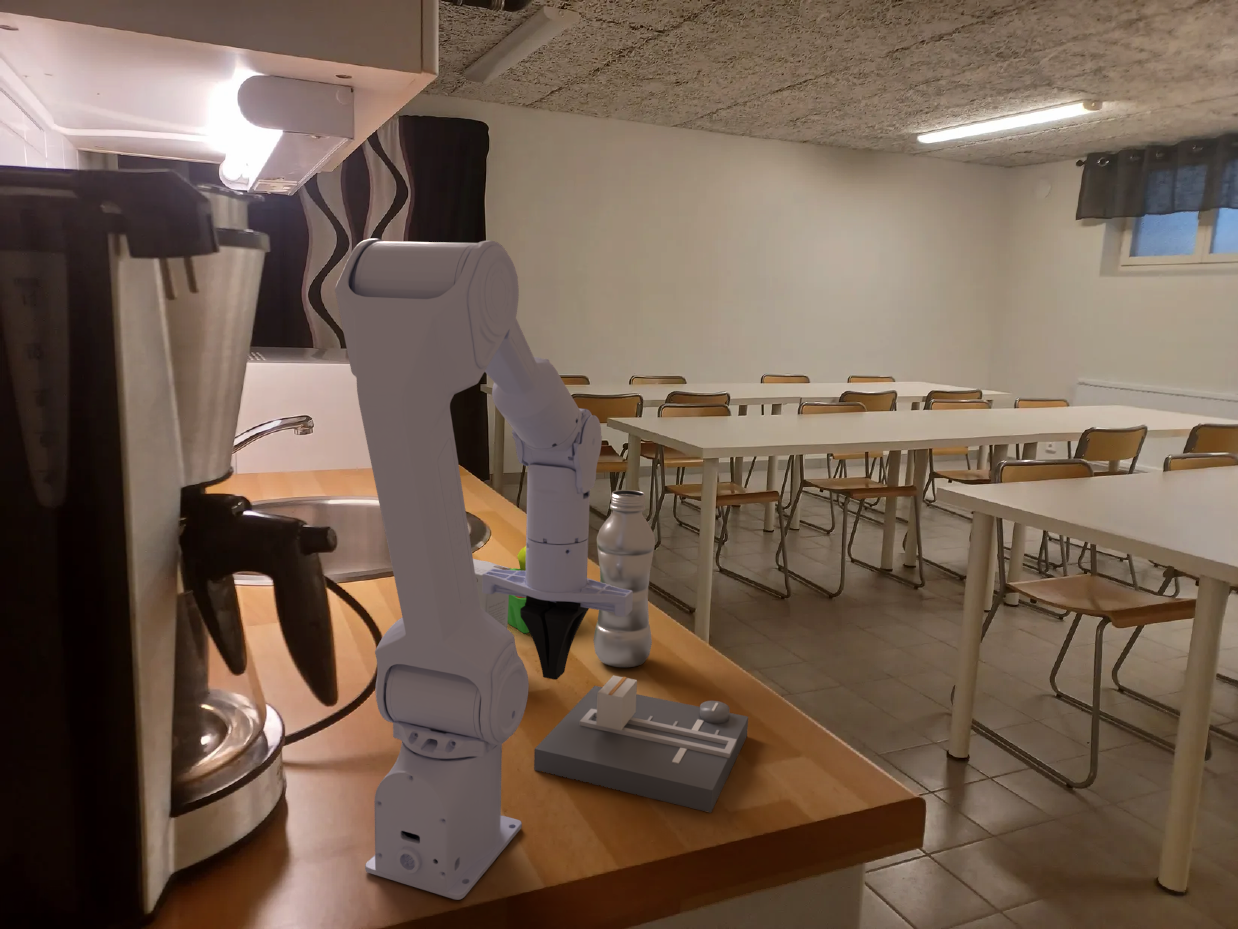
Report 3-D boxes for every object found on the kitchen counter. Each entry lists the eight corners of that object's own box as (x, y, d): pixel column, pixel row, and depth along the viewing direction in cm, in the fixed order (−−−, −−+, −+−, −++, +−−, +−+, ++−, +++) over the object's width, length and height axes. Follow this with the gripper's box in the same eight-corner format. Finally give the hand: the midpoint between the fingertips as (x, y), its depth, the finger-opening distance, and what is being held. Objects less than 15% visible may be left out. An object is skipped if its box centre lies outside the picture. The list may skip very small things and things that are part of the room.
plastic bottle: (645, 677, 95) (654, 502, 92) (586, 670, 96) (592, 496, 93) (654, 655, 101) (663, 490, 98) (599, 648, 103) (605, 485, 99)
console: (712, 813, 70) (714, 778, 69) (534, 769, 75) (534, 737, 75) (747, 736, 83) (750, 706, 82) (593, 703, 88) (594, 675, 88)
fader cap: (620, 734, 78) (622, 696, 77) (596, 729, 78) (597, 691, 78) (635, 715, 81) (637, 679, 81) (611, 710, 82) (613, 674, 81)
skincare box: (440, 671, 95) (440, 565, 93) (466, 657, 99) (467, 556, 96) (484, 684, 92) (485, 576, 90) (509, 670, 96) (511, 565, 94)
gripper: (645, 536, 80) (639, 672, 83) (507, 517, 85) (505, 646, 88) (619, 555, 74) (613, 702, 76) (471, 534, 79) (470, 673, 81)
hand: (553, 674), depth 81 cm, fingers closed
